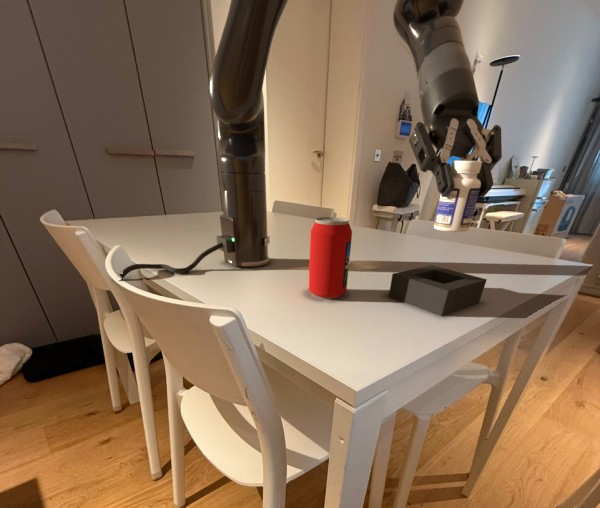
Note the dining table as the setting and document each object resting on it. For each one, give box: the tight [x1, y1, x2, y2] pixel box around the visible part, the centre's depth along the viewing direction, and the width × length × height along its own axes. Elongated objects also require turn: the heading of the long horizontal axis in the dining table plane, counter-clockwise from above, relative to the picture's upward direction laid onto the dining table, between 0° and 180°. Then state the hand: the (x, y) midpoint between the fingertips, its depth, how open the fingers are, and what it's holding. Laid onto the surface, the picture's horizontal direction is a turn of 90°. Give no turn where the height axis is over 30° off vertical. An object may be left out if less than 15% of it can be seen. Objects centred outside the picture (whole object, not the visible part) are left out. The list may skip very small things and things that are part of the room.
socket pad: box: [388, 264, 488, 317], centre depth 58 cm, size 11×11×4 cm
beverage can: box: [308, 216, 353, 300], centre depth 57 cm, size 7×7×12 cm
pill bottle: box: [433, 160, 482, 233], centre depth 50 cm, size 5×5×9 cm
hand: (467, 192), depth 49 cm, fingers closed on pill bottle, 5 cm apart
